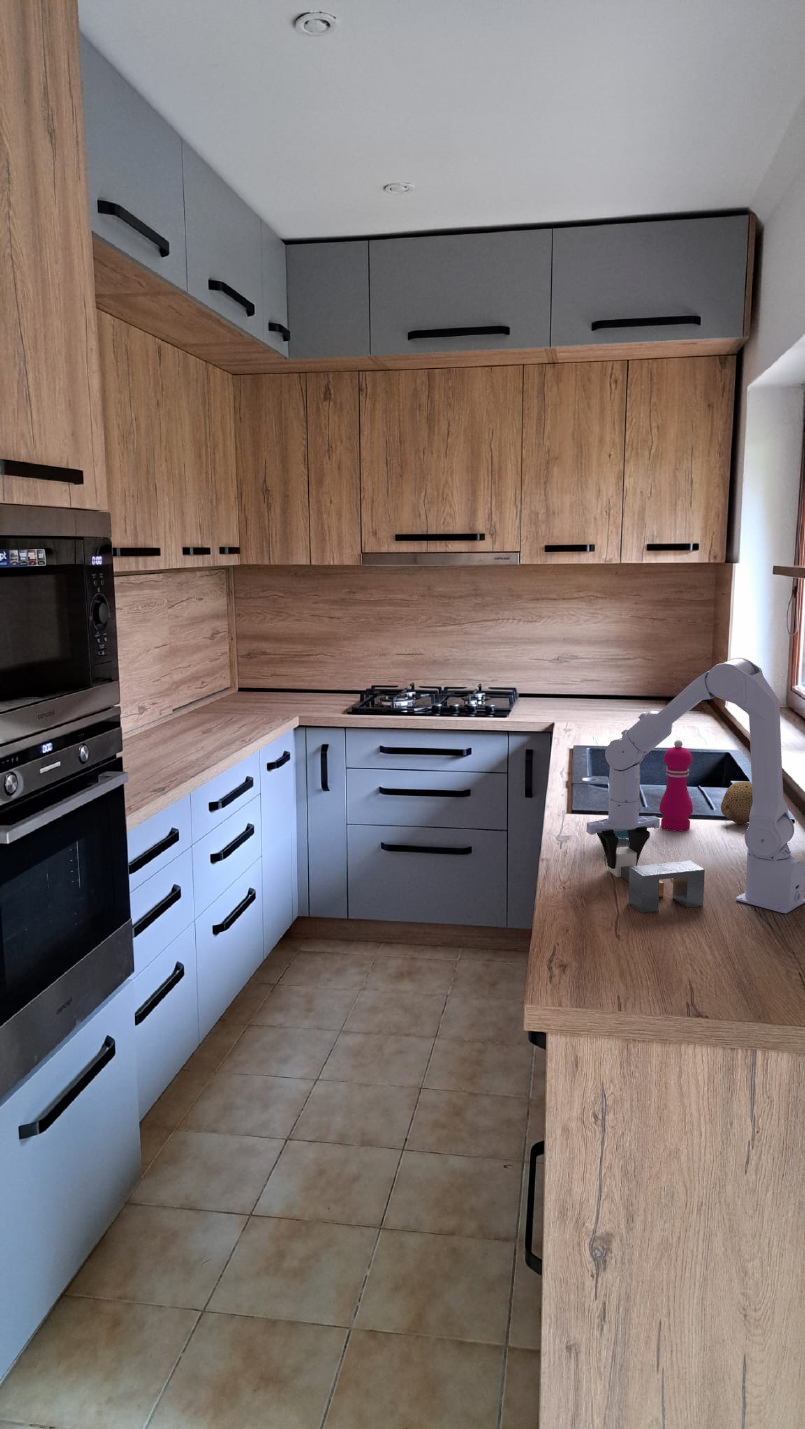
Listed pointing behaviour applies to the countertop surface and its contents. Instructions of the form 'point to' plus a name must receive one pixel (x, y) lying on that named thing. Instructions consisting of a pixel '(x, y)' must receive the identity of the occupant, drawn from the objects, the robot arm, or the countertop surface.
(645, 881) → the housing
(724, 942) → the countertop surface
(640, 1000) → the countertop surface
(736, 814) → the natural sponge
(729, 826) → the countertop surface
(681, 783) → the pepper mill
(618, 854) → the plug
